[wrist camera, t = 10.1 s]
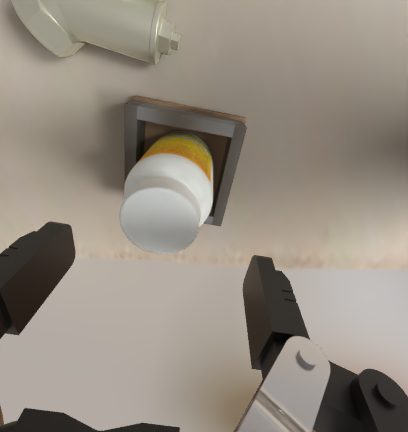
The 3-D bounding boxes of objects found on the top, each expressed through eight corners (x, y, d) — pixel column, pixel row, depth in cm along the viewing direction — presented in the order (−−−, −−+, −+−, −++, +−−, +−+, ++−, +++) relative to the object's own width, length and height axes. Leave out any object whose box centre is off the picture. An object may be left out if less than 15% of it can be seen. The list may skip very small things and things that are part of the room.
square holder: (244, 117, 19) (250, 125, 16) (221, 209, 23) (222, 228, 20) (135, 95, 18) (121, 100, 15) (133, 194, 22) (122, 211, 20)
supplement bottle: (217, 186, 21) (219, 260, 13) (159, 194, 22) (126, 270, 13) (207, 123, 18) (202, 165, 10) (141, 135, 19) (86, 183, 11)
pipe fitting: (193, 40, 17) (132, -91, 13) (192, 38, 13) (111, -135, 10) (108, 100, 19) (36, 1, 15) (89, 111, 16) (-6, -10, 12)
